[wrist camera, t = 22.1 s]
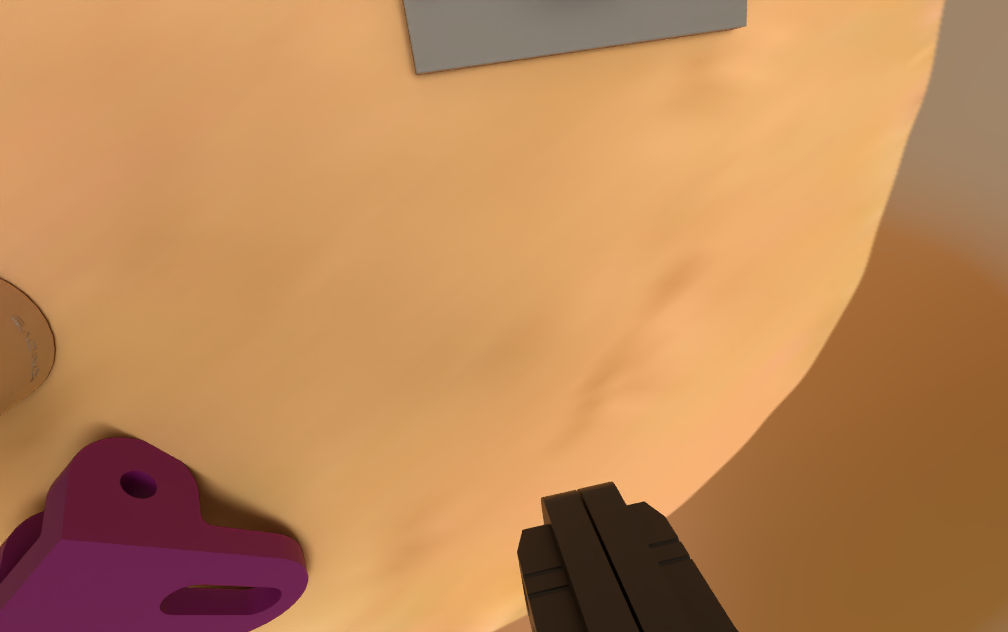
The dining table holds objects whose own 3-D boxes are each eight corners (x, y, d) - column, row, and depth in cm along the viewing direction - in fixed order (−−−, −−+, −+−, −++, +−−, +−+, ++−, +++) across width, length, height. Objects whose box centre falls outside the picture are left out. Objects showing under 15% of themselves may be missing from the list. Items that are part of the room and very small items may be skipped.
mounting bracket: (310, 477, 47) (74, 424, 35) (333, 563, 42) (61, 538, 29) (243, 548, 49) (-7, 523, 36) (257, 640, 43) (-35, 650, 30)
